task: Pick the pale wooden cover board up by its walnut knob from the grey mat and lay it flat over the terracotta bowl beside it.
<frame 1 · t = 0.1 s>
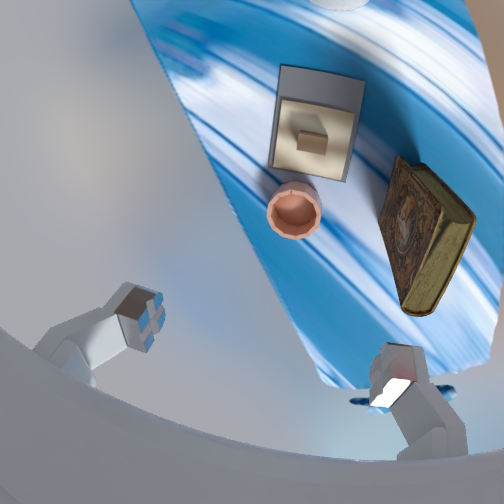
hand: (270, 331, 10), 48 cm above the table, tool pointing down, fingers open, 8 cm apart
bowl: (296, 205, 58), on the table
mat: (315, 123, 49), on the table
cover board: (313, 139, 50), resting on mat
book: (399, 195, 52), on the table
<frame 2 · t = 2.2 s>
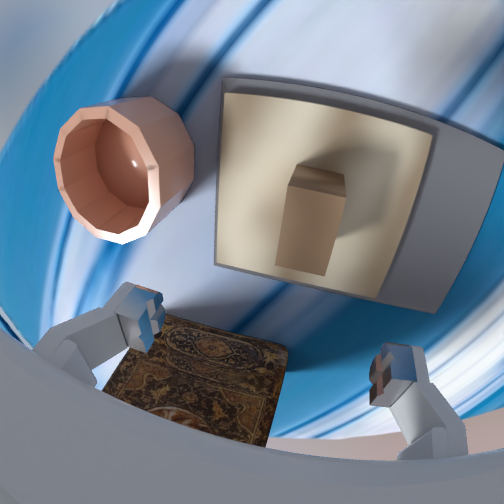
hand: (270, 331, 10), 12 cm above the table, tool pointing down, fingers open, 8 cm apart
bowl: (139, 157, 21), on the table
mat: (356, 206, 19), on the table
cover board: (314, 200, 19), resting on mat
book: (216, 342, 32), on the table
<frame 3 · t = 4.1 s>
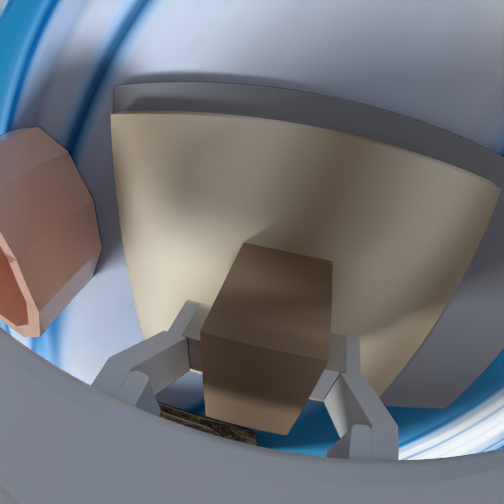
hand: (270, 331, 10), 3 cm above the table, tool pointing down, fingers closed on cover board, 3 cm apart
bowl: (38, 211, 13), on the table
mat: (351, 299, 12), on the table
cover board: (280, 292, 12), resting on mat, touching gripper
book: (174, 415, 24), on the table
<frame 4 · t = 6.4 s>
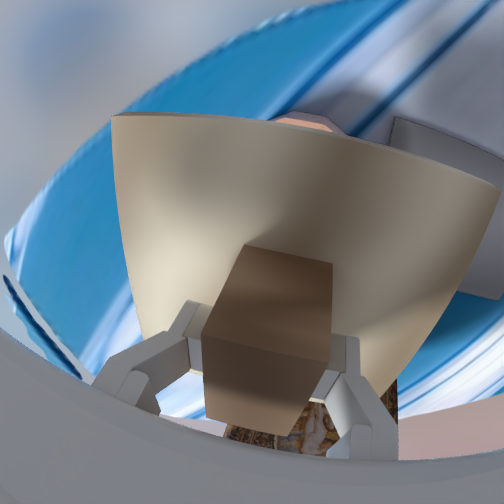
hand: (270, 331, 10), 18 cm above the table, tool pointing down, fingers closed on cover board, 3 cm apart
bowl: (301, 168, 25), on the table
mat: (464, 223, 23), on the table
cover board: (280, 294, 12), point 16 cm above the table, touching gripper
book: (325, 335, 35), on the table
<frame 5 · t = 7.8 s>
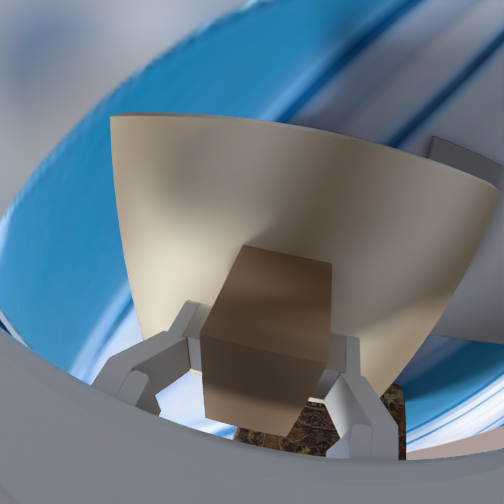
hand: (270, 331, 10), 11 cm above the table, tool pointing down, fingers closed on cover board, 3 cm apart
mat: (500, 269, 17), on the table
cover board: (279, 294, 12), point 9 cm above the table, touching gripper
book: (326, 387, 29), on the table
when the fingers open (9 cm above the table, at t = 8.8 s): cover board drops 1 cm, resting on bowl.
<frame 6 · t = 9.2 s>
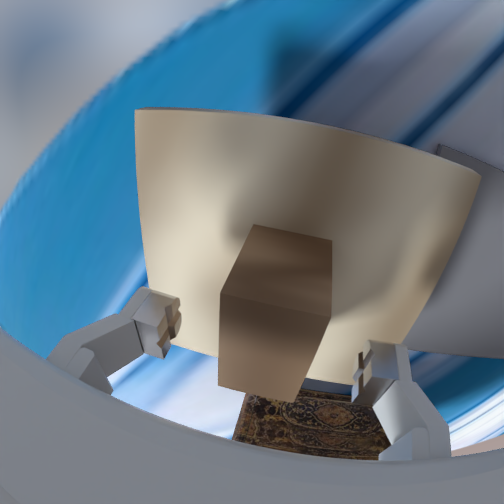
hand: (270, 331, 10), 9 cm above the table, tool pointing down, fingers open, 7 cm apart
cover board: (285, 272, 13), point 5 cm above the table, touching bowl
book: (322, 403, 27), on the table
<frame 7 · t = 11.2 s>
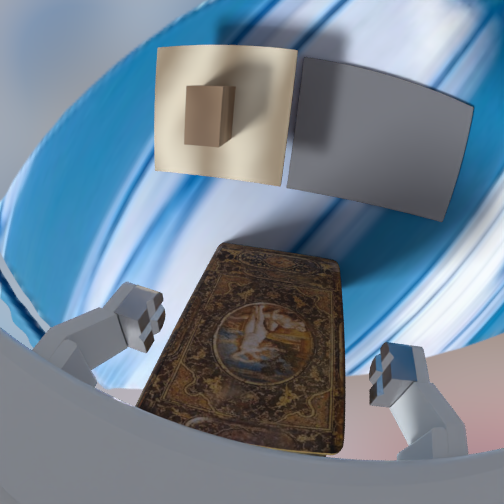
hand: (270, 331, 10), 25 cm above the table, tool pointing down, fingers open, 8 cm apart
mat: (385, 141, 28), on the table
cover board: (220, 110, 25), point 5 cm above the table, touching bowl
book: (274, 266, 39), on the table
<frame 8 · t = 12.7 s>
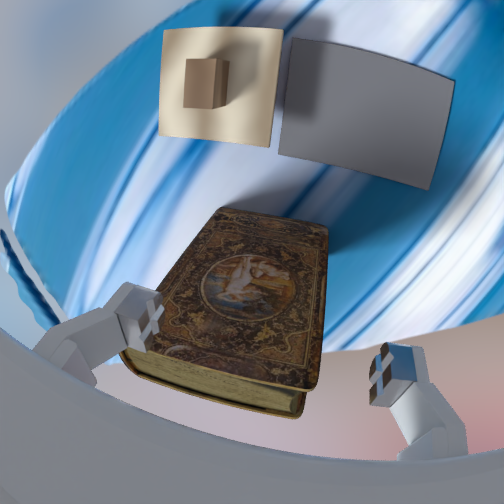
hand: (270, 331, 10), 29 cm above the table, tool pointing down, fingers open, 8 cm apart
mat: (368, 112, 30), on the table
cover board: (216, 82, 27), point 5 cm above the table, touching bowl
book: (267, 231, 42), on the table
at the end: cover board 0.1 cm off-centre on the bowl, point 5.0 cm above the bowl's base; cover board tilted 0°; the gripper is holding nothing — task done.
